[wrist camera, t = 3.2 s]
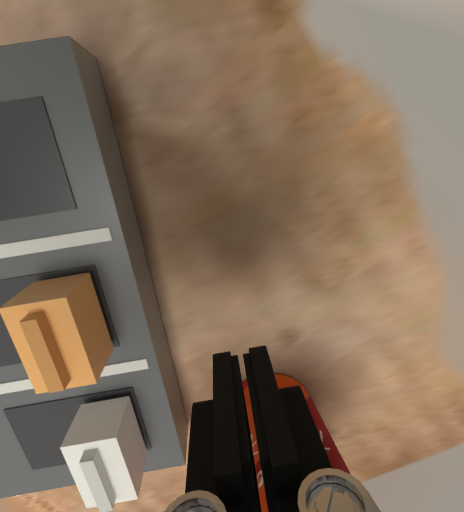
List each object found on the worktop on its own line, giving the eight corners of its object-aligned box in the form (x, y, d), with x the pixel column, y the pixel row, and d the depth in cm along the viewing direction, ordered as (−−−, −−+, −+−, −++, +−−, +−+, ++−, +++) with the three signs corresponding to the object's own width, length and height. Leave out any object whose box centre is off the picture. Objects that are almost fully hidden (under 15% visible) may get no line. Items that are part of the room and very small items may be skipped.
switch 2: (80, 404, 16) (53, 460, 13) (129, 396, 16) (112, 449, 13) (102, 460, 18) (82, 522, 15) (146, 452, 18) (135, 512, 15)
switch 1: (33, 281, 14) (-13, 316, 11) (89, 272, 14) (58, 304, 11) (62, 356, 15) (28, 405, 12) (113, 347, 15) (91, 394, 12)
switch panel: (-149, 94, 14) (-241, 79, 11) (96, 58, 14) (68, 35, 12) (27, 452, 21) (-2, 500, 18) (188, 423, 22) (185, 466, 19)
